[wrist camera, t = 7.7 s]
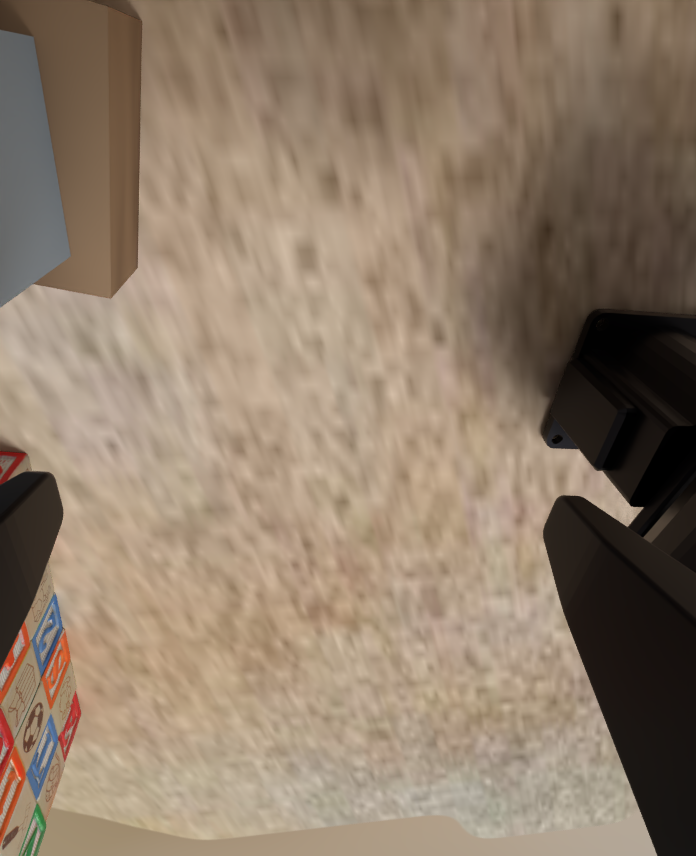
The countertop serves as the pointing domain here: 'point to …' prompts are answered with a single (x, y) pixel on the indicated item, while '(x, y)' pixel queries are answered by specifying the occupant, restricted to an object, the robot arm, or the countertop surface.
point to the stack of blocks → (33, 711)
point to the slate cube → (26, 173)
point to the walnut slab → (89, 132)
